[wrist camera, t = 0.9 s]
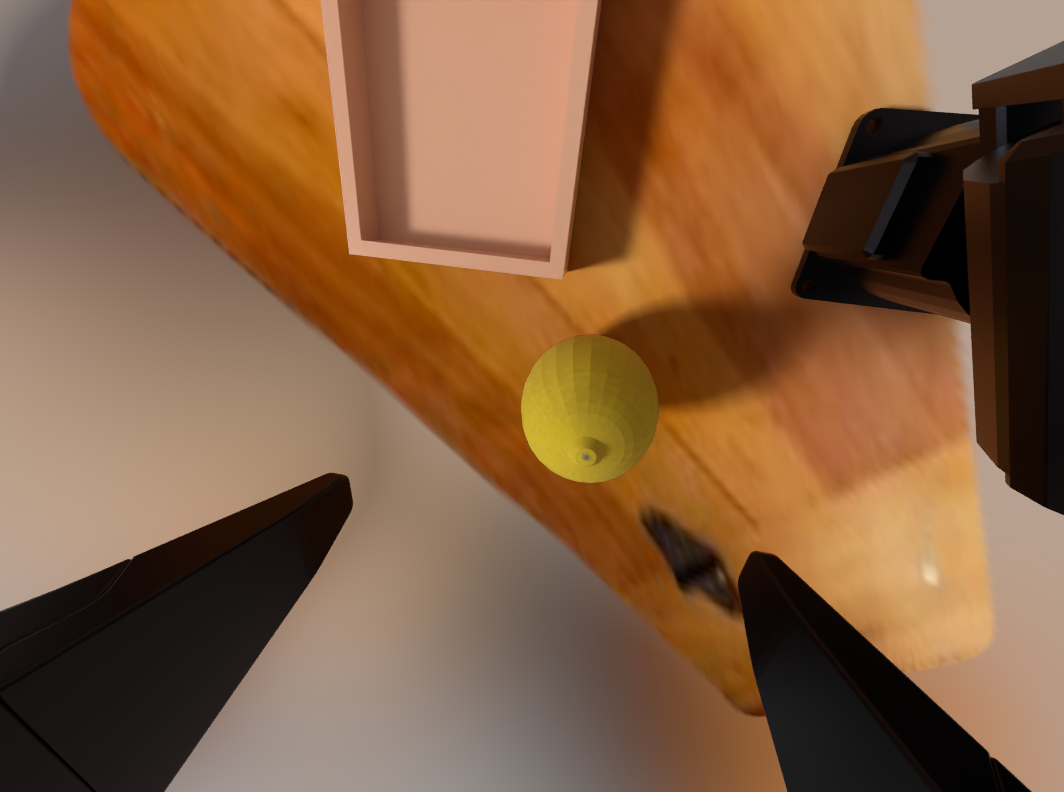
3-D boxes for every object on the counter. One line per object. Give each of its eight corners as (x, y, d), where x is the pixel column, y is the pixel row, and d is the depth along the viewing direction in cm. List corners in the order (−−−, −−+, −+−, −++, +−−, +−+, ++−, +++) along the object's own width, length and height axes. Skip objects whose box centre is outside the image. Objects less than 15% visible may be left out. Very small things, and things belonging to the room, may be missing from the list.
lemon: (669, 374, 19) (713, 471, 12) (584, 434, 21) (577, 547, 14) (596, 291, 18) (595, 340, 10) (515, 364, 20) (468, 446, 13)
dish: (608, -45, 13) (610, -101, 11) (567, 271, 17) (562, 279, 15) (355, -54, 14) (308, -107, 11) (379, 249, 18) (349, 253, 16)
